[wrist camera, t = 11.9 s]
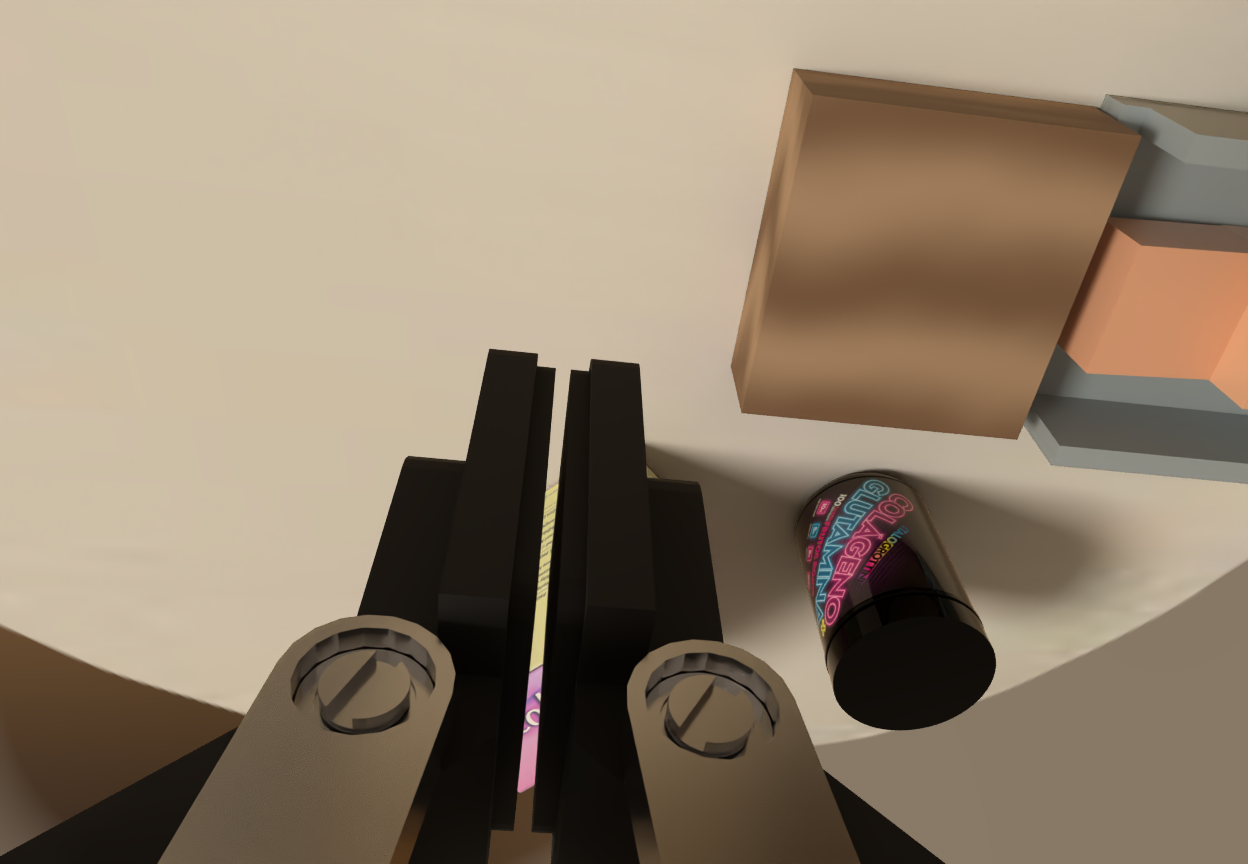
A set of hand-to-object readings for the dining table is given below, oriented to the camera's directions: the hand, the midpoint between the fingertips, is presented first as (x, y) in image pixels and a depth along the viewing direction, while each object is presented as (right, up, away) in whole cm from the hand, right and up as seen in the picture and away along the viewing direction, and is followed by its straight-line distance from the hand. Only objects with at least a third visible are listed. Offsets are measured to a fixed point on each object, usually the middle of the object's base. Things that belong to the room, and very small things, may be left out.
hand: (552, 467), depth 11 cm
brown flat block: (+12, +8, +30) cm, 33 cm away
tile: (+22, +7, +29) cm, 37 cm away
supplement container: (+13, -4, +38) cm, 40 cm away
